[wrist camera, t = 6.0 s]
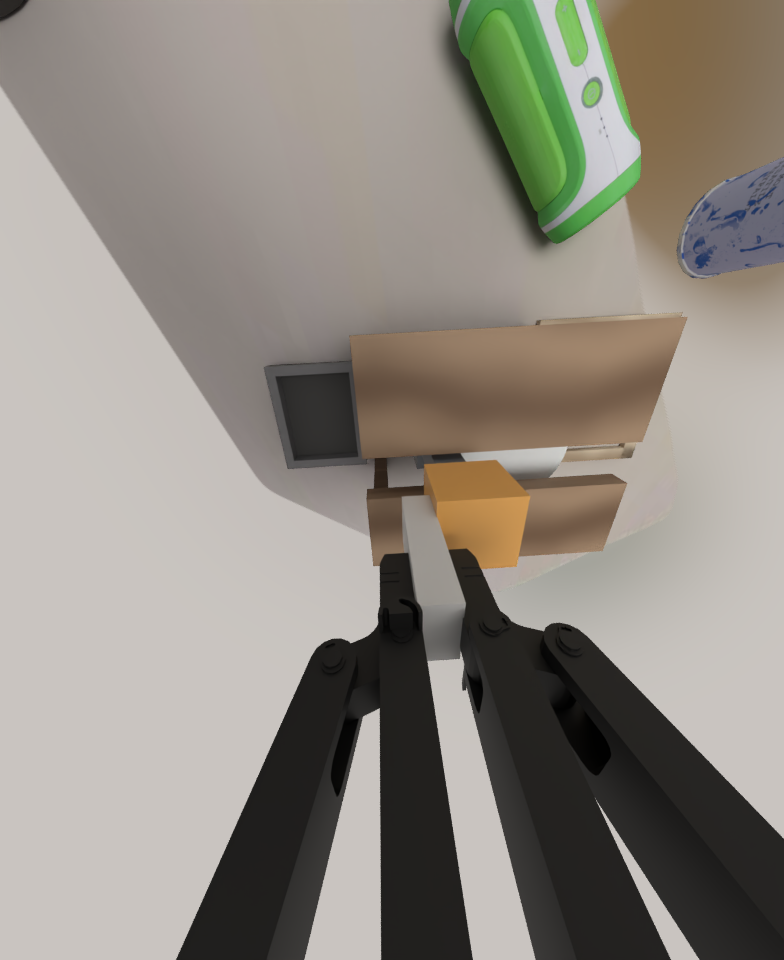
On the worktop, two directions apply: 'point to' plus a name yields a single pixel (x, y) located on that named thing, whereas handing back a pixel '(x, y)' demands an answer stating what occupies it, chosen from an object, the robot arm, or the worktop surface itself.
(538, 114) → the speaker
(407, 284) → the worktop surface
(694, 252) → the aerosol can
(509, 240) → the worktop surface
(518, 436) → the walnut tunnel
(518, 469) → the supplement tub
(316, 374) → the tray
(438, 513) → the slider
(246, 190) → the worktop surface
